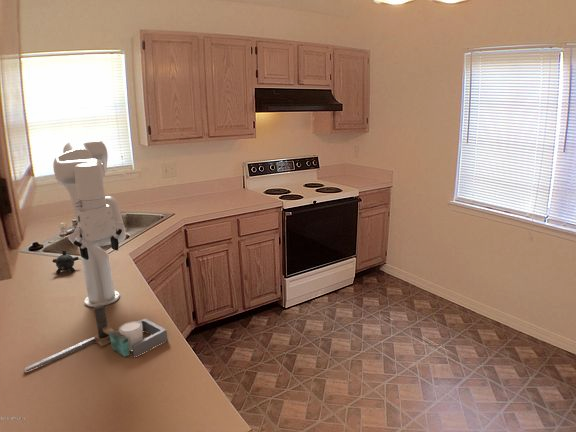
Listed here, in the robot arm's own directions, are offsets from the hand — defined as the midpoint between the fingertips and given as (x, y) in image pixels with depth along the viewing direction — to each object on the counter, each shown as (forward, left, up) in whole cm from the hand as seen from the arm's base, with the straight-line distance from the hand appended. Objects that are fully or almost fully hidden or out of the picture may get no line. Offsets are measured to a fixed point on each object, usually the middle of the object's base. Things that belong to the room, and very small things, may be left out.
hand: (100, 253), depth 129 cm
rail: (+3, -16, -27) cm, 31 cm away
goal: (+16, 0, -27) cm, 31 cm away
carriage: (+12, -6, -27) cm, 30 cm away
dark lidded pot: (-67, +13, -27) cm, 73 cm away
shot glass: (+16, -2, -27) cm, 32 cm away
